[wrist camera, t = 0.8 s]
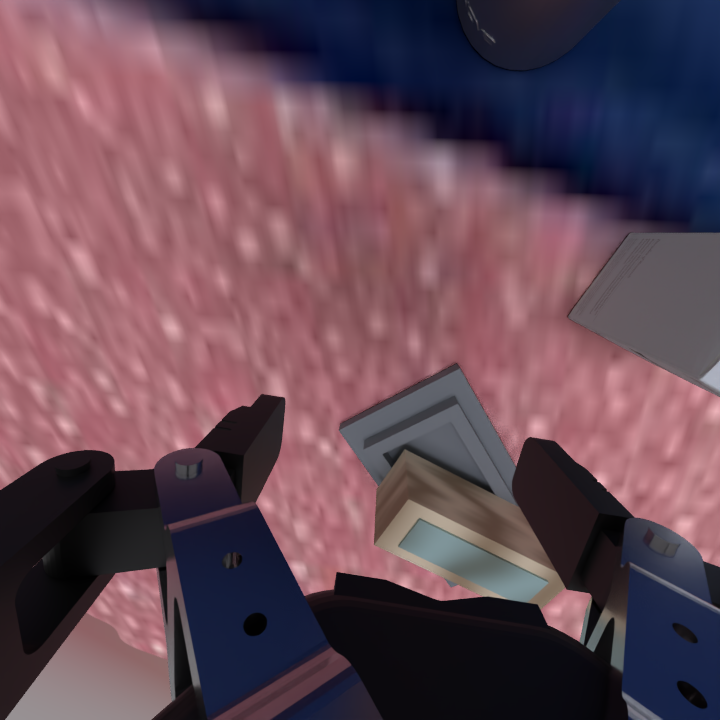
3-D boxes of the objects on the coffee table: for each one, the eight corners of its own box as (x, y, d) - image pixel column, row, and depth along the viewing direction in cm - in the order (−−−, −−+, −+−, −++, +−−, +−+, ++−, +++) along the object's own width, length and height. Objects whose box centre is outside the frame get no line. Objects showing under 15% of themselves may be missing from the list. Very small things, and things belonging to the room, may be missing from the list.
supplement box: (563, 317, 28) (694, 379, 16) (629, 229, 25) (845, 224, 13) (638, 359, 28) (818, 449, 16) (710, 277, 26) (984, 313, 14)
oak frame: (376, 489, 31) (373, 547, 26) (404, 449, 30) (408, 501, 24) (505, 552, 33) (531, 621, 27) (539, 517, 31) (574, 582, 25)
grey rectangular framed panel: (340, 423, 32) (336, 439, 30) (457, 363, 30) (463, 375, 27) (448, 576, 38) (453, 601, 35) (556, 538, 35) (569, 562, 32)
